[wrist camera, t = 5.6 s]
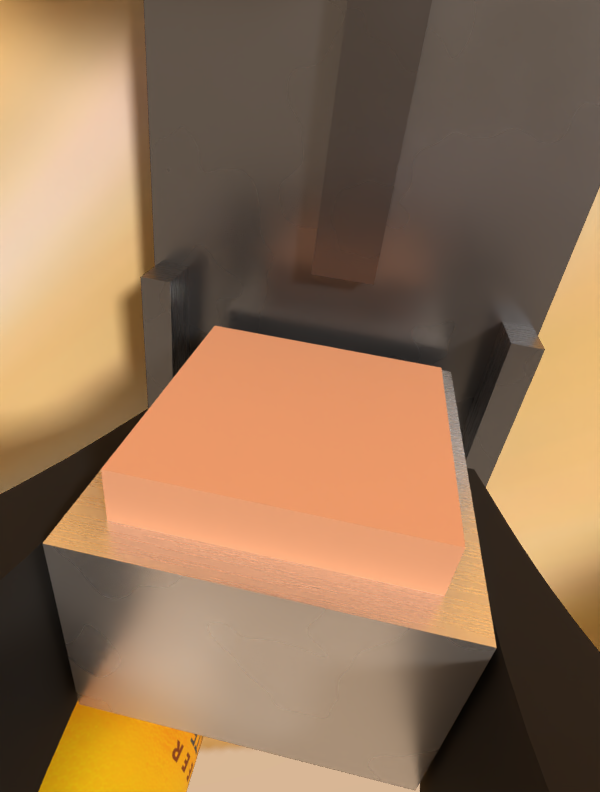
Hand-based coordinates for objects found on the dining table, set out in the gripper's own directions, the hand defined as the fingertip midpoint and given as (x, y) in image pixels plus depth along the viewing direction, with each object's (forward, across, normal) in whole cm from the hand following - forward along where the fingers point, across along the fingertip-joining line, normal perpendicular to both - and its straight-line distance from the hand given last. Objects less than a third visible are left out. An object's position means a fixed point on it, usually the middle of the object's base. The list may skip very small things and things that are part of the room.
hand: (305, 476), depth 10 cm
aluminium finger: (+2, 0, 0) cm, 2 cm away
